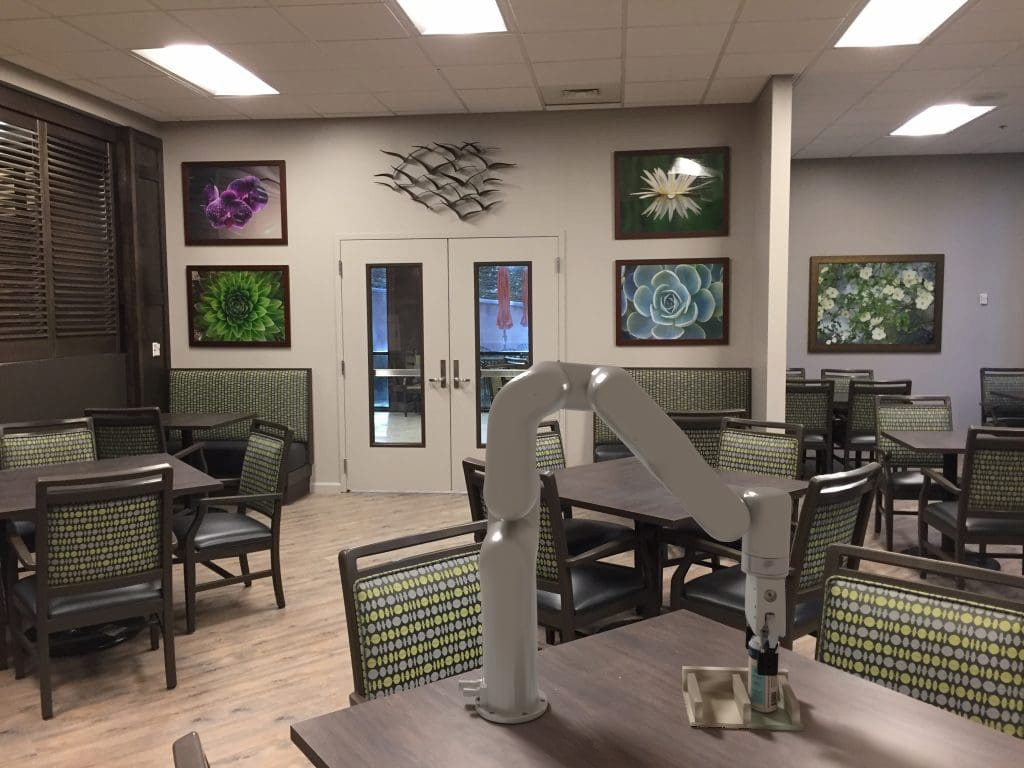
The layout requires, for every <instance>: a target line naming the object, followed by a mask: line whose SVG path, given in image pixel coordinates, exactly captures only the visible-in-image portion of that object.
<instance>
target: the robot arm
mask: <svg viewBox="0 0 1024 768" xmlns="http://www.w3.org/2000/svg"><path fill="white" fill-rule="evenodd" d="M560 410H567V411H577V412H578V411H579V412H591V413H592V412H593V413H595V414H596V415H597V417H598V418H600V420H601V421H602V422H603V423H604V424H605V425H606V426H607V427H608V428H609V429H610V430H611V432H612V433H613V434H615V436H616V437H618V439H619V440H620V441H621V442H622V443H623V444H624V445H625V446H626V448H628V449H629V451H630V452H631V454H633V455H634V456H635V457H636V458H637V460H638V461H639V462H640V463H641V464H642V465H643V466H644V467H645V468H646V470H647V471H648V472H649V473H650V474H651V475H652V476H653V477H654V478H655V479H656V480H657V481H658V482H659V483H660V484H661V485H662V486H663V487H664V488H665V489H666V490H667V492H669V493H670V494H671V495H672V497H673V498H674V499H675V501H676V502H677V503H679V504H680V506H681V507H682V508H683V509H684V510H685V511H686V512H687V513H688V514H689V516H691V517H692V518H693V520H694V521H695V522H696V523H697V524H698V525H699V526H700V527H701V528H702V529H703V531H704V532H705V533H707V534H708V535H709V536H710V537H711V538H713V539H715V540H717V541H719V542H726V543H727V542H728V543H730V542H734V541H738V540H740V539H741V538H742V539H741V563H740V564H741V566H740V569H741V571H742V572H743V573H744V574H746V575H745V576H746V577H745V592H744V593H745V594H744V595H745V596H744V612H745V613H744V614H745V618H746V626H745V640H744V641H745V642H744V643H745V644H744V646H745V649H746V650H747V651H749V642H750V641H751V638H752V637H753V636H754V635H757V636H758V637H759V647H760V650H758V653H757V674H758V675H762V676H777V675H778V669H779V655H780V653H779V651H780V650H779V649H780V648H779V649H778V646H779V637H780V638H784V637H785V636H786V627H787V626H786V619H787V618H786V617H787V616H786V607H787V606H786V585H785V584H786V583H785V577H787V576H788V575H789V571H790V570H789V569H790V552H791V551H790V550H791V549H790V547H791V546H790V545H791V544H790V543H791V524H792V507H793V506H792V503H793V502H792V496H791V495H790V493H789V492H788V491H786V490H785V489H783V488H777V487H773V486H754V487H747V486H741V485H740V486H739V485H734V484H728V483H726V482H725V481H724V480H723V478H721V477H720V476H719V475H718V474H717V473H716V472H715V470H714V469H713V468H712V467H711V466H710V465H709V463H707V461H706V460H705V459H704V458H703V457H702V455H701V454H700V452H699V451H698V450H697V448H695V446H694V444H693V443H692V441H691V440H690V438H689V437H688V436H687V435H686V433H685V432H684V431H683V430H682V428H681V427H680V426H678V424H677V423H676V422H675V421H674V420H673V419H672V418H671V417H670V416H669V415H668V414H667V413H666V412H665V411H664V410H663V409H662V407H660V405H659V404H658V403H657V402H656V401H655V400H654V399H653V398H652V397H651V396H650V395H649V394H648V392H647V391H645V389H644V388H643V387H642V386H641V385H640V384H639V383H638V381H636V380H635V379H634V377H633V375H631V374H630V373H629V371H627V370H626V369H624V368H623V367H620V366H617V365H610V364H609V365H608V364H607V365H605V364H589V363H577V362H564V361H556V360H555V361H554V360H553V361H552V360H545V361H540V362H536V363H535V364H533V365H531V366H530V367H529V368H528V369H527V370H525V371H523V372H522V373H520V374H518V375H517V376H515V377H513V378H512V379H510V380H509V381H508V382H506V383H505V384H504V385H503V386H502V387H501V389H500V390H499V391H498V392H497V394H496V395H495V396H494V398H493V400H492V403H490V409H489V411H488V415H487V426H486V442H485V458H484V459H485V460H484V461H485V462H484V481H483V482H484V483H483V491H482V492H483V493H482V494H483V499H484V500H483V501H484V503H485V506H486V508H487V527H486V535H485V536H484V539H483V541H482V544H481V548H480V551H479V554H478V555H479V556H478V575H479V576H478V578H479V586H480V603H481V604H480V605H481V611H480V612H481V634H482V635H481V636H482V637H481V639H482V677H481V678H480V677H478V678H477V679H476V680H474V679H473V680H472V679H463V678H462V679H458V692H462V696H463V697H465V698H466V697H475V698H474V708H475V711H476V712H477V714H478V715H480V717H482V718H484V719H486V720H488V721H491V722H495V723H500V724H519V723H526V722H530V721H532V720H535V719H537V718H539V717H540V716H542V715H543V714H544V713H545V712H546V711H547V709H548V697H547V694H546V693H545V692H544V691H543V690H541V689H540V688H539V650H538V649H539V646H538V645H539V643H538V642H539V641H538V602H537V601H538V597H537V558H538V550H539V545H540V544H539V542H540V517H541V516H540V515H541V514H540V513H541V476H540V473H539V471H538V468H537V466H536V462H537V459H536V458H537V447H538V446H537V443H538V442H537V440H538V428H539V426H540V424H541V422H542V421H543V420H544V419H545V418H546V417H548V416H552V415H554V414H555V413H557V412H558V411H560ZM763 638H768V640H766V641H765V644H764V639H763ZM779 647H780V646H779Z"/></svg>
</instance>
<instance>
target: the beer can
mask: <svg viewBox="0 0 1024 768" xmlns="http://www.w3.org/2000/svg"><path fill="white" fill-rule="evenodd" d="M763 639H764V644H765V641H766V640H768V638H763ZM779 647H780V646H778V649H780V648H779ZM758 650H760V647H759V637H758V636H757V635H754V636H753V637H752V638H751V641H750V642H749V650H748V667H747V668H748V697H749V700H750V702H751V708H752V709H754V710H755V711H757V712H761V713H770V712H773V711H775V710H776V709H777V708H778V675H777V676H762V675H758V674H757V653H758Z"/></svg>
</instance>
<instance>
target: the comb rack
mask: <svg viewBox="0 0 1024 768" xmlns="http://www.w3.org/2000/svg"><path fill="white" fill-rule="evenodd" d="M681 668H682V679H681V680H682V688H681V690H682V696H683V699H684V700H685V701H684V705H685V704H686V705H685V709H686V708H687V709H686V713H687V717H689V718H688V721H690V722H689V725H691V726H697V727H696V728H708V727H722V728H721V729H739V728H749V729H748V730H770V729H771V730H774V731H775V730H777V731H801V732H802V731H805V725H804V723H803V721H802V719H801V704H800V702H799V700H798V699H797V696H796V694H795V693H794V691H793V689H792V686H791V685H790V683H789V670H788V669H787V668H778V708H777V709H776V710H775V711H773V712H770V713H761V712H757V711H755V710H754V709H752V708H751V702H750V700H749V697H748V667H735V666H732V667H731V666H727V667H726V666H700V665H699V666H696V665H695V666H694V665H693V666H692V665H691V666H690V665H689V666H688V665H682V667H681ZM691 726H690V727H691ZM699 726H700V727H699ZM723 727H725V728H723ZM750 728H751V729H750Z"/></svg>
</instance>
